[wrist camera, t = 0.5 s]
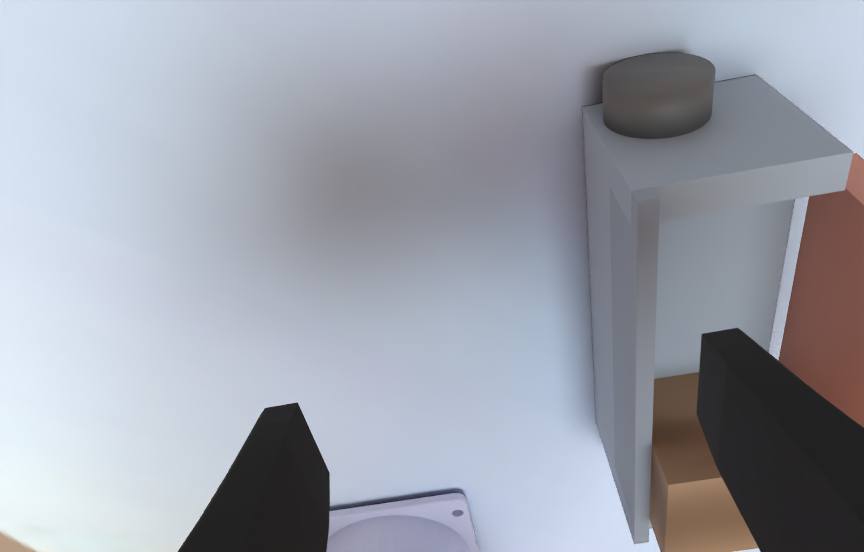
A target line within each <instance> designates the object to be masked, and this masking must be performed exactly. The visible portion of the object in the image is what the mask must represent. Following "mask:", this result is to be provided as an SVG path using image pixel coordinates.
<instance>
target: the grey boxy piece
mask: <svg viewBox="0 0 864 552" xmlns="http://www.w3.org/2000/svg"><path fill="white" fill-rule="evenodd" d="M714 79H715V67H714V65H713V64H712V63H711V62H710V61H708V60H707V59H705V58H702V57H699V56H695V55H691V54H684V53H654V54H646V55H640V56H636V57H632V58H628V59H625V60H622V61H620V62H618V63H616V64H614V65H612V66H610V67H609V68H608V69H607V70H606V71H605V72H604V73H603V76H602V89H603V103H600V104H595V105H589V106H584V107H582V110H583V133H584V156H585V179H586V202H587V225H588V248H589V271H590V294H591V317H592V340H593V363H594V386H595V409H596V424H597V427H598V430H599V434H600V437H601V440H602V443H603V446H604V449H605V453H606V456H607V459H608V462H609V465H610V469H611V472H612V475H613V478H614V481H615V484H616V488H617V491H618V494H619V497H620V500H621V503H622V507H623V510H624V513H625V516H626V519H627V522H628V526H629V529H630V532H631V535H632V538H633V542H634V544H638V543H645V542H649V528H652V525H651V522H650V519H649V517H650V487H651V456H652V426H653V395H654V379H657V378H664V377H670V376H677V375H683V374H690V373H696V372H699V366H700V351H701V335H702V334H703V333H709V332H715V331H721V330H727V329H733V328H739V329H740V330H742V331H743V332H744V333H746V334H747V335H748V336H749V337H750V338H752V339H753V340H754V341H755V342H756V343H758V344H759V345H760V346H761V347H762V348H763V349H765V350H766V351H767V352H769V347H770V341H771V335H772V329H773V323H774V318H775V312H776V306H777V300H778V294H779V289H780V283H781V277H782V271H783V265H784V260H785V254H786V248H787V242H788V236H789V231H790V225H791V219H792V213H793V207H794V202H795V199H796V198H802V197H808V196H814V195H820V194H826V193H832V192H837V191H843V190H845V188H846V183H847V179H848V174H849V170H850V165H851V161H852V156H853V151H852V150H850V149H849V148H848V147H847V146H845V145H844V144H843V143H842V142H840V141H839V140H838V139H837V138H835V137H834V136H833V135H832V134H830V133H829V132H828V131H827V130H825V129H824V128H823V127H822V126H820V125H819V124H818V123H817V122H815V121H814V120H813V119H812V118H810V117H809V116H808V115H807V114H805V113H804V112H803V111H802V110H800V109H799V108H798V107H797V106H795V105H794V104H793V103H792V102H790V101H789V100H788V99H787V98H785V97H784V96H783V95H782V94H780V93H779V92H778V91H777V90H775V89H774V88H773V87H771V86H770V85H769V84H768V83H766V82H765V81H764V80H763V79H761V78H760V77H759V76H758V75H753V76H747V77H742V78H736V79H731V80H725V81H720V82H715V83H714Z"/></svg>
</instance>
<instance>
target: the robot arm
mask: <svg viewBox="0 0 864 552" xmlns="http://www.w3.org/2000/svg"><path fill="white" fill-rule="evenodd" d="M696 414H697V417H698V419H699V422H700V425H701V428H702V430H703V433H704V436H705V438H706V441H707V444H708V446H709V449H710V451H711V454H712V457H713V459H714V462H715V464H716V467H717V469H718V471H719V473H720V475H721V477H722V479H723V481H724V483H725V484H726V486H727V488H728V490H729V492H730V494H731V496H732V498H733V500H734V502H735V504H736V506H737V508H738V510H739V511H740V513H741V515H742V517H743V519H744V521H745V523H746V525H747V527H748V528H749V530H750V532H751V534H752V536H753V538H754V540H755V542H756V544H757V546H758V547H759V549H760V551H761V552H864V427H862V426H861V425H860V424H858V423H857V422H855V421H854V420H853V419H851V418H850V417H849V416H847V415H846V414H845V413H844V412H842V411H841V410H840V409H838V408H837V407H836V406H834V405H833V404H832V403H830V402H829V401H828V400H826V399H825V398H824V397H823V396H821V395H820V394H819V393H817V392H816V391H815V390H814V389H812V388H811V387H810V386H809V385H807V384H806V383H805V382H804V381H802V380H801V379H800V378H799V377H797V376H796V375H795V374H794V373H792V372H791V371H790V370H789V369H788V368H786V367H785V366H784V365H783V364H781V363H780V362H779V361H778V360H777V359H775V358H774V357H773V356H772V355H771V354H769V353H768V352H767V351H766V350H765V349H763V348H762V347H761V346H760V345H759V344H758V343H756V342H755V341H754V340H753V339H752V338H750V337H749V336H748V335H747V334H746V333H744V332H743V331H742V330H740V329H739V328H733V329H727V330H721V331H715V332H709V333H703V334H702V335H701V351H700V366H699V382H698V397H697V413H696ZM329 508H330V486H329V471H328V469H327V466H326V464H325V462H324V460H323V458H322V455H321V453H320V451H319V449H318V447H317V444H316V442H315V440H314V438H313V436H312V433H311V431H310V429H309V427H308V425H307V422H306V420H305V418H304V416H303V413H302V411H301V409H300V407H299V405H298V403H292V404H286V405H281V406H275V407H269V408H265V409H264V411H263V412H262V413H261V415H260V417H259V418H258V420H257V422H256V424H255V425H254V427H253V429H252V431H251V433H250V434H249V436H248V438H247V440H246V441H245V443H244V445H243V447H242V449H241V450H240V452H239V454H238V456H237V457H236V459H235V461H234V463H233V464H232V466H231V468H230V469H229V471H228V473H227V475H226V476H225V478H224V480H223V481H222V483H221V485H220V486H219V488H218V490H217V491H216V493H215V494H214V496H213V498H212V499H211V501H210V503H209V504H208V506H207V508H206V509H205V511H204V513H203V514H202V516H201V517H200V519H199V521H198V522H197V524H196V525H195V527H194V528H193V530H192V531H191V533H190V534H189V536H188V537H187V539H186V540H185V542H184V543H183V545H182V546H181V548H180V549H179V551H178V552H479V549H478V545H477V540H476V536H475V532H474V528H473V524H472V520H471V516H470V512H469V508H468V504H467V499H466V497H465V496H464V495H462V494H460V493H451V494H444V495H437V496H430V497H423V498H416V499H410V500H403V501H396V502H389V503H382V504H375V505H368V506H362V507H355V508H348V509H341V510H334V511H329Z"/></svg>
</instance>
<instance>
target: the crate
mask: <svg viewBox="0 0 864 552" xmlns="http://www.w3.org/2000/svg"><path fill="white" fill-rule="evenodd" d="M698 382H699V372H696V373H690V374H683V375H677V376H670V377H664V378H657V379H654V395H653V426H652V456H651V487H650V517H649V519H650V522H651V525H652V528H653V531H654V533H655V536H656V539H657V542H658V545H659V548H660V551H661V552H733V551H740V550H747V549H755V548H759V547H758V546H757V544H756V542H755V540H754V538H753V536H752V534H751V532H750V530H749V528H748V527H747V525H746V523H745V521H744V519H743V517H742V515H741V513H740V511H739V510H738V508H737V506H736V504H735V502H734V500H733V498H732V496H731V494H730V492H729V490H728V488H727V486H726V484H725V483H724V481H723V479H722V477H721V475H720V473H719V471H718V469H717V467H716V464H715V462H714V459H713V457H712V454H711V451H710V449H709V446H708V444H707V441H706V438H705V436H704V433H703V430H702V428H701V425H700V422H699V419H698V417H697V414H696V413H697V397H698Z"/></svg>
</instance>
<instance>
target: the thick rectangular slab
mask: <svg viewBox="0 0 864 552" xmlns="http://www.w3.org/2000/svg"><path fill="white" fill-rule="evenodd" d="M779 362H780V363H781V364H783V365H784V366H785V367H786V368H788V369H789V370H790V371H791V372H792V373H794V374H795V375H796V376H797V377H799V378H800V379H801V380H802V381H804V382H805V383H806V384H807V385H809V386H810V387H811V388H812V389H814V390H815V391H816V392H817V393H819V394H820V395H821V396H823V397H824V398H825V399H826V400H828V401H829V402H830V403H832V404H833V405H834V406H836V407H837V408H838V409H840V410H841V411H842V412H844V413H845V414H846V415H847V416H849V417H850V418H851V419H853V420H854V421H855V422H857V423H858V424H860V425H861V426H862V427H864V160H863V159H862V158H861V157H860V156H859V155H858V154H857V153H854V154H853V156H852V161H851V165H850V170H849V174H848V179H847V183H846V188H845V190H843V191H837V192H832V193H826V194H820V195H814V196H809V201H808V206H807V211H806V217H805V222H804V227H803V233H802V238H801V243H800V249H799V254H798V259H797V265H796V270H795V276H794V281H793V286H792V292H791V297H790V302H789V308H788V313H787V318H786V324H785V329H784V334H783V340H782V345H781V350H780V356H779Z"/></svg>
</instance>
